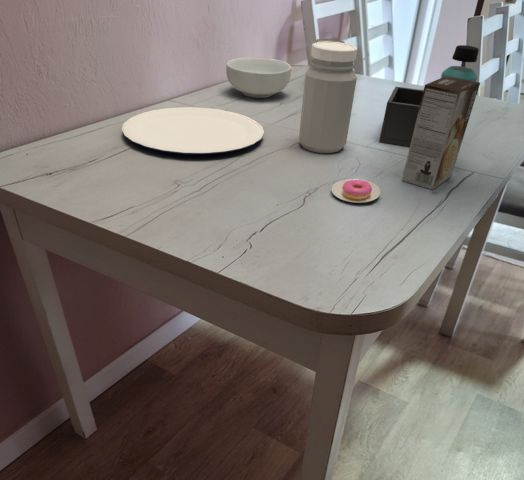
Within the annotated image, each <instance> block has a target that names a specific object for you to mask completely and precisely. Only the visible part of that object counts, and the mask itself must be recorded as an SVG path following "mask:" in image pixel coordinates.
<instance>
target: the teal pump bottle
mask: <svg viewBox="0 0 524 480" xmlns="http://www.w3.org/2000/svg"><path fill="white" fill-rule="evenodd" d="M479 51H480V48H479V47H476V46H474V45H473V46H472V45H465V44H463V45H462V44H461V45H460V44H458V45H456V47H455V49H454V52H453V55H452V57H451V59H452V60H454V61H457V62H460V63H461V62H462V63H476V62H477V61H478V55H479ZM445 76H447V77H452V78H458V79H463V80H468V81H474V82H477V80H478V77H477V74H476V72H475V70H474V69H472V68H471V67H466V66H462V65H460V66H459V65H450V66H448V67H447V68H445V69H444V70H443V71H442V72H441V75H440V78H443V77H445Z"/></svg>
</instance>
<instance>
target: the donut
mask: <svg viewBox="0 0 524 480" xmlns="http://www.w3.org/2000/svg"><path fill="white" fill-rule="evenodd" d="M373 182H374V180H372V181H369V180H365V179H360V178H347V179H342V180H339V181H337V182H335V183H333V185H332V186H331V193H332V194H333V196H335V197H336V198H338V199H339V200H340V201H341V200H342V201H344V202H347V203H348V202H349V203H353V204H362V203H363V204H364V203H369V202H372V201H375V200H376V199H378V198H379V197H380V196H381V191H382V190H381V188H380V187H379V186H378V185H377V184H375V183H373Z"/></svg>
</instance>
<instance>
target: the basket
mask: <svg viewBox="0 0 524 480" xmlns="http://www.w3.org/2000/svg"><path fill="white" fill-rule="evenodd" d="M423 91H424V89H418V88H412V87H411V88H409V87H402V86H394V89H393V90H392V92H391V94H390V96H389V97H388V100H387V102H386V106H385V110H384V115H383V120H382V125H381V131H380V135H379V139H378V142H379V143H382V144H389V145H395V146H402V147H408V148H410V145H411V140H412V136H413V132H414V128H415V124H416V120H417V116H418V112H419V107H420V103H421V99H422V95H423Z"/></svg>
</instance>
